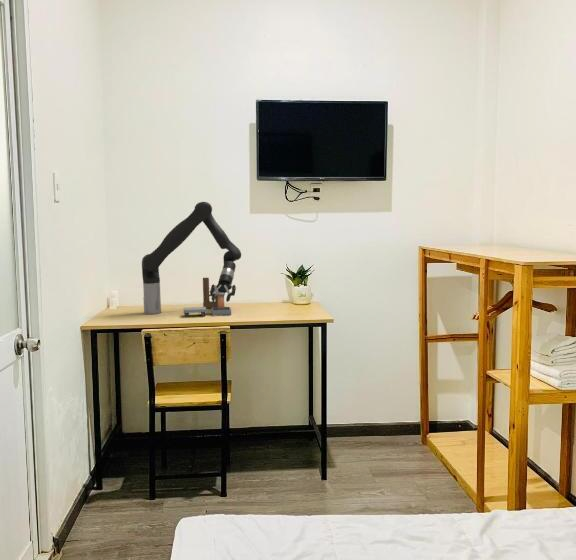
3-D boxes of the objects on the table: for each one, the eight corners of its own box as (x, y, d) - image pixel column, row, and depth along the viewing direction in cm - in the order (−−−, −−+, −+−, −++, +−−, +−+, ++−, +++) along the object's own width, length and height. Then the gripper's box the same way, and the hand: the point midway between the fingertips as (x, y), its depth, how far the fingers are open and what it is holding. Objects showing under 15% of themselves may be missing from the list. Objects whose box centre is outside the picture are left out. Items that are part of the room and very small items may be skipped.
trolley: (183, 317, 317) (183, 310, 316) (184, 314, 325) (183, 307, 324) (206, 316, 319) (206, 309, 318) (205, 313, 327) (205, 306, 326)
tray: (212, 315, 320) (212, 310, 320) (211, 312, 330) (211, 307, 330) (231, 315, 322) (231, 309, 322) (229, 311, 332) (229, 306, 332)
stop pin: (217, 313, 324) (216, 293, 322) (216, 312, 328) (216, 292, 327) (225, 313, 324) (225, 293, 323) (225, 312, 329) (224, 292, 328)
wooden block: (221, 307, 346) (221, 277, 344) (203, 308, 344) (202, 278, 342) (221, 306, 350) (220, 276, 348) (203, 307, 348) (202, 277, 346)
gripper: (212, 273, 332) (206, 296, 323) (236, 273, 329) (230, 297, 319) (216, 281, 338) (209, 304, 328) (240, 281, 335) (234, 305, 325)
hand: (220, 300), depth 324 cm, fingers open, 8 cm apart
